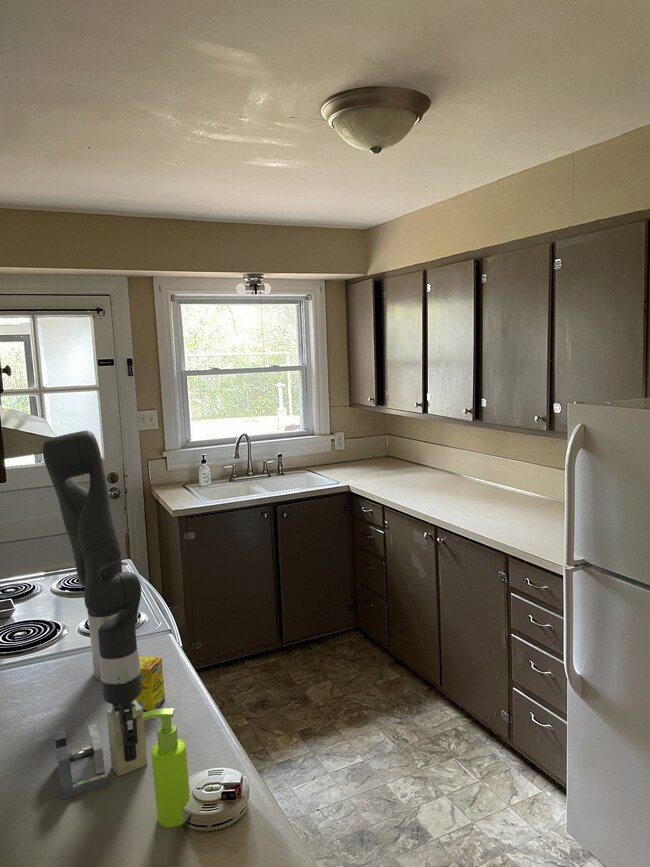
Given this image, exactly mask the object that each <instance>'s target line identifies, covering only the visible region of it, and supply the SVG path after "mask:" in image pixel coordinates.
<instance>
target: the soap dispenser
mask: <svg viewBox="0 0 650 867" xmlns="http://www.w3.org/2000/svg"><path fill="white" fill-rule="evenodd" d="M174 713H175V708H174V707H173V708H172V707H169V708H168V707H165V708H158V709H154V710H150V711H147V712H143V715H142V718H141V719H142V720H144V721H146V720H150V719H158V718H159V719H160V723H161V724H160V726H159V727H158V728H157V731H156V732H157V733H156V735H157V743H155V744H154V745H153V746H152V748H151V750H150V753H151V763H152V771H153V772H152V775H153V782H154V783H153V784H154V793H155V794H154V795H155V804H156V816H157V818H156V819H157V822H158V824H159V825H160V826H161V827H164V828H167V829H169V828H171V829H172V828H177V827H180V826H181V825H184V824H183V809H184V807H185V806H186V804H187V803H188V801H189V798H190V799H191V794H190V793H191V792H190V781H189V780H190V779H189V770H188V768H189V767H188V759H187V757H188V755H187V747H186V746H187V745H186V742H185V741H184V740H183V739H182V738H179V737H178V728H177V725H176V724H174V723H172V718H173V717H174Z"/></svg>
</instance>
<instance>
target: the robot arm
mask: <svg viewBox="0 0 650 867" xmlns="http://www.w3.org/2000/svg"><path fill="white" fill-rule="evenodd" d="M42 456H43V457H42V458H43V461H44V464H45V467H46V469H47V470H46V471H47V473H48V475H49V477H50V478H49V479H50V480H51V483H52V486H53V488H54V491H55V493H56V496H57V499H58V503H59V508H60V512H61V517H62V521H63V523H64V528H65V530H66V534H67V536H68V539H69V542H70V545H71V548H72V552H73V559H74V562H75V569H76V574H77V578H78V581H79V583H80V585H81V586H83V587H84V592H83V593H84V597H83V598H84V604H85V608H86V610H87V618H88V628H89V636H90V637H89V638H90V646H91V647H90V648H91V657H92V668H93V676H94V679H96V680H98V681H100V683H101V690H102V699H103V700H104V701H105V703H108V704H112V708H113V710H114V711H115V716H116V717H120V716H121V721H120V719H119V720H118V728H119V732H120V733H121V734H122V740H123V741H122V744H123V746H124V756H125V761H126V762H129V761H132V760H135V759H136V758H137V755H136V744H137V743H138V738H137V719H136V715H135V714H136V706H135V704H134V702H133V700H134V699H135V698H137V697H138V696H139V695H140V694H141V692H142V681H141V670H140V660H139V657H140V655H139V652H138V645H137V633H136V631H137V630H136V627H137V626H136V625H137V619H138V611H139V608H140V603H141V598H142V584H141V581H140V579H139V577H138V576H137V575H136V574H135V573H134V572H133V571H123V560H122V551H121V546H120V545H119V543H120V542H119V540H118V536H117V534H116V530H115V526H114V521H113V519H112V513H111V507H110V501H109V500H110V499H109V492H108V486H107V480H106V479H107V478H106V475H105V469H104V465H103V459H102V458H103V457H102V454H101V449H100V445H99V442H98V440H97V438H96V436H95V434H94V433H93V432H92V431H90V430H80V431H76V432H71V433H66V434H62V435H59V436H57V435H56V436H54V437H51V438H48V439H46V440H45V441H44V443H43V445H42ZM88 474H89V489H87V488H85V487H83V486H81V485H79V484H78V483H76V482H75V481H74V480H73V479H72V478H76V477H80V476H83V475H88ZM121 723H122V726H123V728H122V727H121Z"/></svg>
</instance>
